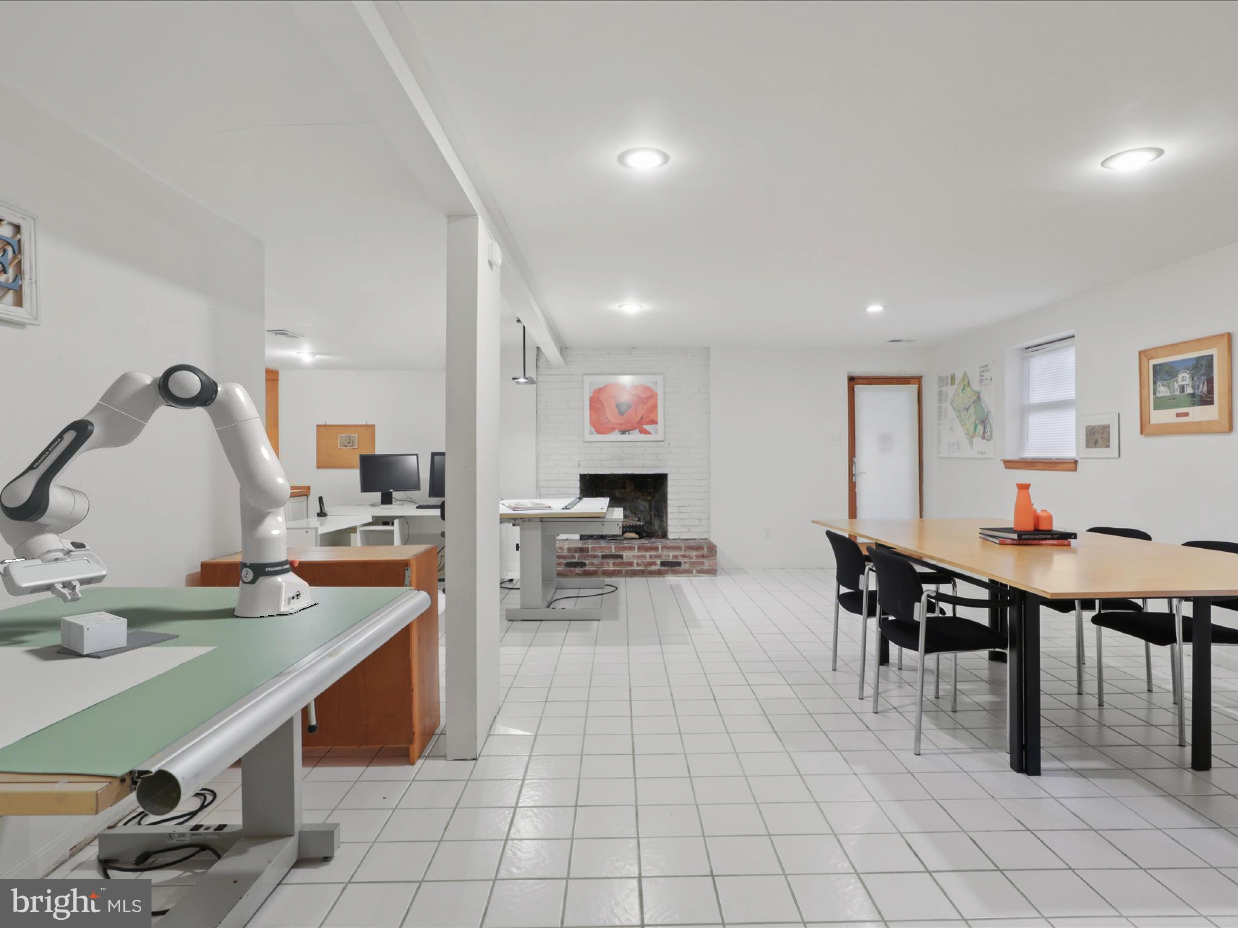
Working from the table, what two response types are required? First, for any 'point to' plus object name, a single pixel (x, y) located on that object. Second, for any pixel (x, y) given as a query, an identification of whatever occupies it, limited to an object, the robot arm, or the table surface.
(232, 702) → the table surface
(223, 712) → the table surface
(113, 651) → the mat
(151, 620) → the table surface
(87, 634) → the small box
